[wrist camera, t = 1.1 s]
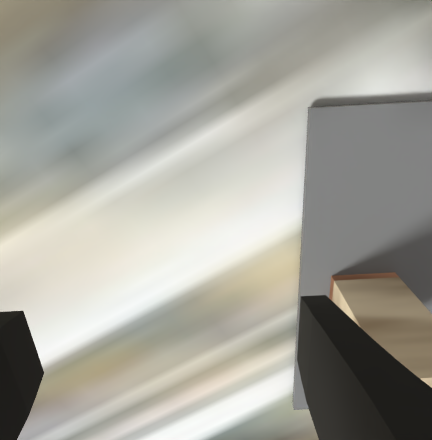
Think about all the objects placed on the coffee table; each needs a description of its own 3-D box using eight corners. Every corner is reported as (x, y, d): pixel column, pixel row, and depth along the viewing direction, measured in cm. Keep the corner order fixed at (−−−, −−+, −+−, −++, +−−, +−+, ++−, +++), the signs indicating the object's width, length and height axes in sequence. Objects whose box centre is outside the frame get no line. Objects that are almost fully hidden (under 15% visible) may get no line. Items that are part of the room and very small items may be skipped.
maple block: (385, 322, 22) (463, 437, 15) (326, 325, 22) (377, 441, 15) (394, 272, 20) (485, 374, 14) (331, 275, 20) (390, 379, 14)
